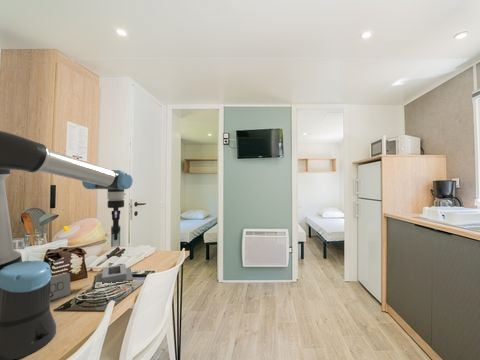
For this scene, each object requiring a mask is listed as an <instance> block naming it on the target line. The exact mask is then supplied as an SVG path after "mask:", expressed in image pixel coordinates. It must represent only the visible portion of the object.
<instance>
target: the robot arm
mask: <svg viewBox="0 0 480 360" xmlns="http://www.w3.org/2000/svg"><path fill="white" fill-rule="evenodd" d="M12 170H15V171H22V172H28V173H37V172H43V173H46V174H51V175H55V176H58V177H59V176H60V177H63V178H69V179H72V180H76V181H81V184H82V186H83V187H84V189H87V190H107V192H106V193H107V197H106V198H107V208H108V209H113V210H111V220H112V226H113V233H110V235H111V234H113V247H114V246H115V247H120V246H119V225H120V224H119V223H120V219H121V216H120V215H121V210H119V208H124V207H125V196H126V195H127V194H126V193H125V190H128V189H130V188H131V187H132V185H133V177H132V175H131V174H130V173H129V172H124V171H123V170H121V169H120V170H119V169H112V170H111V169H109V168H106V167H102V166H99V165H96V164H93V163H90V162H87V161H84V160H83V159H82V160H81V159H78V158H75V157H72V156H69V155H67V154H64V153H63V154H62V153H60V152H56V151H54V150H51V149H49V148H48V147H47V146H46V145H45V144H43V143H40V142H37V141H34V140H32V139H28V138H25V137H23V136H20V135H17V134H13V133H11V132H7V131H3V130H0V360H14V359H16V360H19V359H21V358H24V357H26V356H28V355H31V354H32V353H35V352H36V351H38V350H40V349H42V348H43V347H45V346H46V345H47V344H48V343H50V342H51V341H52V340H53V339H54V338H55V336H56V334H57V324H56V323H57V322H56V321H55V319H54V317H53V315H52V312H51V310H50V309H51V301H50V297H51V294H50V284H51V277H52V272H51V271H52V269H51V266H50V265H49V263H48V262H46V261H41V260H26V261H25V260H24V261H23V259H22V258H23V257H22V253H21V252H20V251H17V250H15V248H14V241H13V234H12V227H11V226H12V225H11V218H10V212H9V203H8V197H7V190H6V182H5V181H6V179H7V178H8V177H9V176H11V171H12ZM113 247H112V248H113ZM115 247H114V248H115ZM18 358H19V359H18Z"/></svg>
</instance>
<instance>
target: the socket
mask: <svg viewBox="0 0 480 360" xmlns="http://www.w3.org/2000/svg"><path fill="white" fill-rule="evenodd" d="M133 278H134V277H133V273H132V269H131V267H126V264H125V263H123V264H117V265H111V266H110V265H109V266H103V268H102V272H97V273H96V277H95V281H94V284H95V283H96V282H102V284H104V283H111V282H112V283H116V282H123V281H133V282H134V279H133Z"/></svg>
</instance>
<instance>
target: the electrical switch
mask: <svg viewBox="0 0 480 360" xmlns="http://www.w3.org/2000/svg"><path fill="white" fill-rule="evenodd" d="M71 288H72V287H71V274H70V273H69V272H65V273H60V274H58V275H53V276H51V284H50V302H51V301H54V300H58V299H60V298H63V297H66V296H67V297H68V296H70V294H71V293H72V292H71V291H72V289H71Z"/></svg>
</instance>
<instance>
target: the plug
mask: <svg viewBox="0 0 480 360" xmlns="http://www.w3.org/2000/svg"><path fill="white" fill-rule="evenodd" d="M110 227H111V228H110V232H111V233H113V225H111V226H110ZM111 233H110V247H111V248H113V234H111ZM120 246H121V224H119V246H118V247H120ZM115 247H116V246H114V248H115Z"/></svg>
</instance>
